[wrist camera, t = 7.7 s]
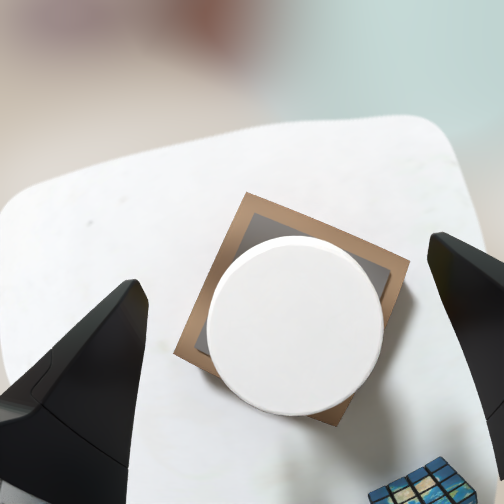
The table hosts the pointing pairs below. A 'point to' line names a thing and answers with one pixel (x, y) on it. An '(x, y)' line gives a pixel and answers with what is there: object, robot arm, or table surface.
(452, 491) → the puzzle
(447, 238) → the robot arm
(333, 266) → the supplement bottle
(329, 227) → the base block
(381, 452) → the table surface
